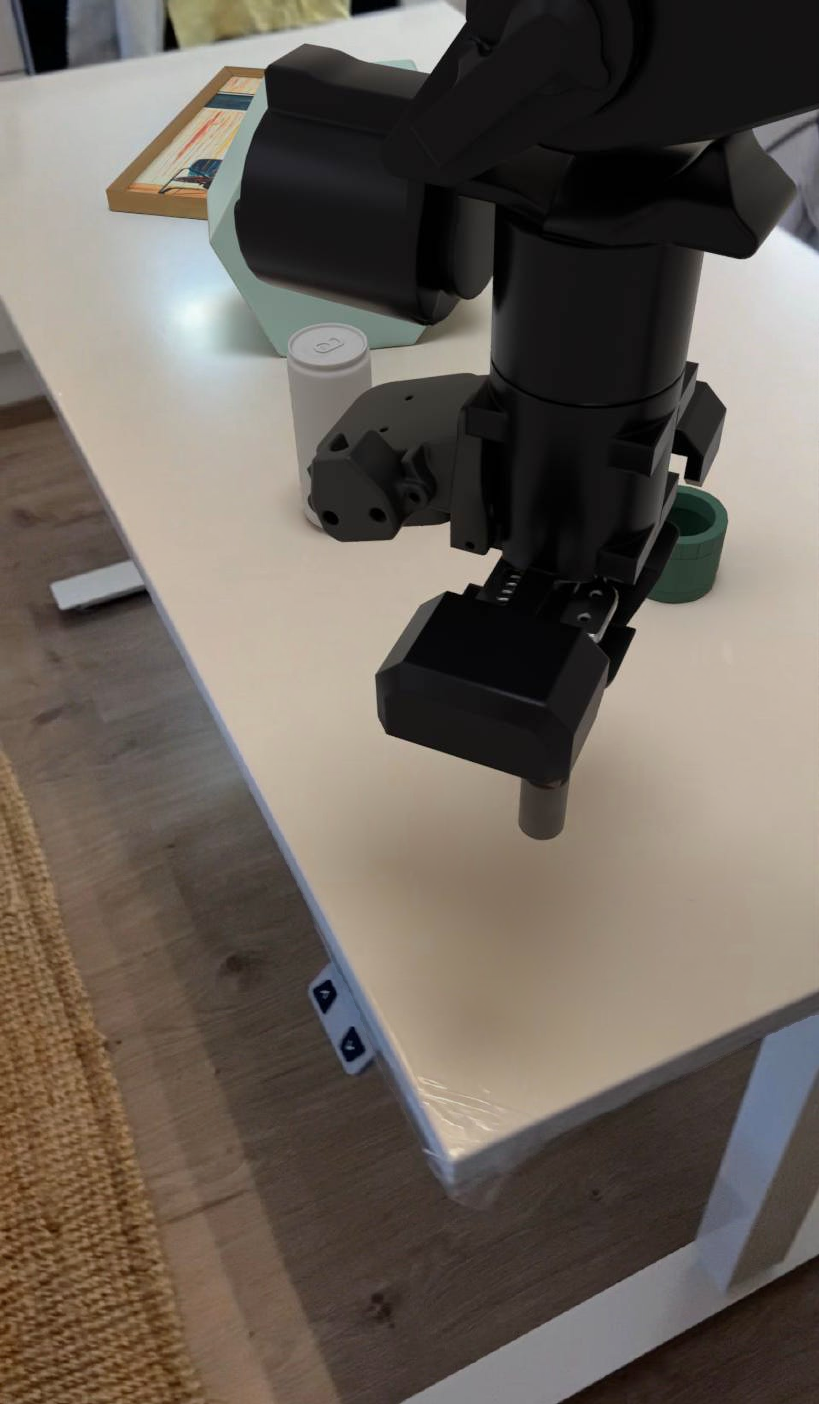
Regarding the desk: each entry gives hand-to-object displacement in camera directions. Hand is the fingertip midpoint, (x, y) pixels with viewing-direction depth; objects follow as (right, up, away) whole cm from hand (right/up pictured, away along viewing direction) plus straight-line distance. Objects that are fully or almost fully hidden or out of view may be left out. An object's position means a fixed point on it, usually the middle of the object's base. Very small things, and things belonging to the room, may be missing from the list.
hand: (552, 712), depth 46 cm
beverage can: (-10, +12, +30) cm, 34 cm away
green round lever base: (+10, +8, +25) cm, 28 cm away
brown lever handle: (0, -5, +5) cm, 7 cm away
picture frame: (-14, +53, +67) cm, 87 cm away
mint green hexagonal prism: (-10, +29, +46) cm, 55 cm away
